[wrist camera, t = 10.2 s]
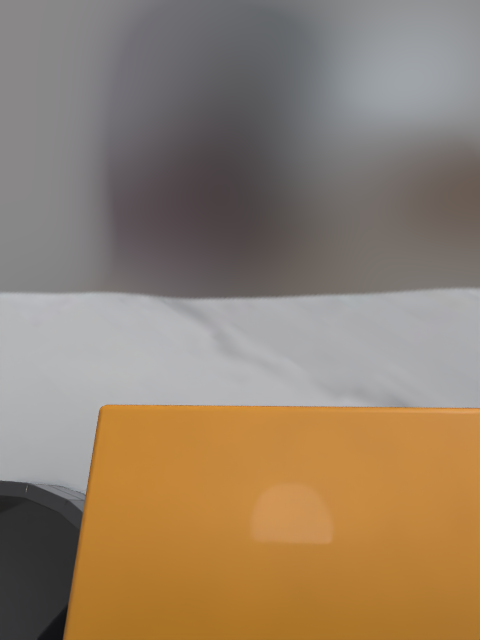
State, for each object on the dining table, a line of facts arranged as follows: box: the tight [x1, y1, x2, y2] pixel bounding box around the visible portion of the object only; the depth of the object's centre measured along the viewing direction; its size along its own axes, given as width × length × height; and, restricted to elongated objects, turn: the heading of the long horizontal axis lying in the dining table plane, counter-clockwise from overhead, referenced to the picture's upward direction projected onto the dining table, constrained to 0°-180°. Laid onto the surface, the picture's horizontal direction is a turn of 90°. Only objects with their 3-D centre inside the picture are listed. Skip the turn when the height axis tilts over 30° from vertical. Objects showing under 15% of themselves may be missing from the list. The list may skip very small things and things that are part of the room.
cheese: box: [63, 405, 480, 640], centre depth 8 cm, size 4×4×12 cm
